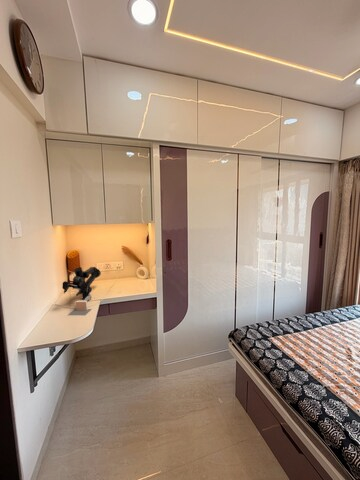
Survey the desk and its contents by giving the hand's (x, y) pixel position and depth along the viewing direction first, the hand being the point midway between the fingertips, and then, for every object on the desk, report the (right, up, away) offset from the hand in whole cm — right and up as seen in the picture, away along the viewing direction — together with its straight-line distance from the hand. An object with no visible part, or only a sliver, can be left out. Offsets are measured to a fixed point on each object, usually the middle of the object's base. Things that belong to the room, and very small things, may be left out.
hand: (70, 294), depth 155 cm
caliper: (+3, -13, +13) cm, 19 cm away
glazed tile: (+7, -13, +4) cm, 16 cm away
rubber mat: (+7, -14, +1) cm, 16 cm away
